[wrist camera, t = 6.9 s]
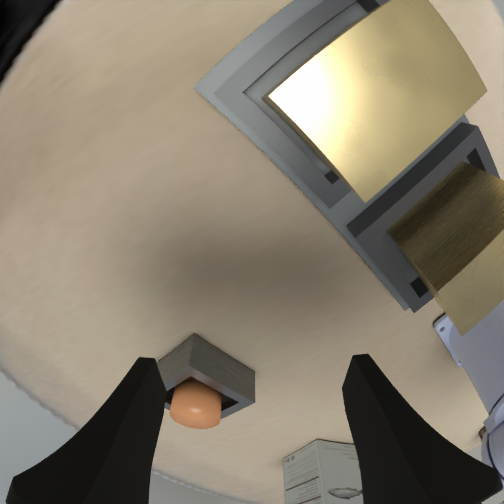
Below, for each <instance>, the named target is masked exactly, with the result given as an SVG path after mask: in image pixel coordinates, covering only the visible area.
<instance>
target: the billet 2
mask: <svg viewBox="0 0 504 504" xmlns="http://www.w3.org/2000/svg"><path fill="white" fill-rule="evenodd" d="M386 231H387V233H388V234H389V236H390V237H391V238H392V240H393V241H394V242H395V244H396V245H397V247H398V248H399V250H400V251H401V252H402V254H403V255H404V257H405V258H406V260H407V261H408V263H409V264H410V266H411V267H412V269H413V270H414V271H415V273H416V274H417V275H418V277H419V278H420V279H421V280H422V282H423V283H424V284H425V286H426V287H427V288H428V290H429V291H430V292H431V294H432V295H433V296H434V298H435V299H436V301H437V302H438V303H439V305H440V306H441V308H442V309H443V310H444V312H445V313H446V315H447V316H448V317H449V319H450V320H451V322H452V323H453V325H454V326H455V328H456V329H457V331H458V332H459V334H460V335H461V337H462V336H464V335H465V334H466V333H467V332H468V331H470V330H471V329H472V328H473V327H474V326H475V325H477V324H478V323H479V322H480V321H481V320H482V319H483V318H485V317H486V316H487V315H488V314H489V313H490V312H491V311H492V310H493V309H494V308H495V307H497V306H498V305H499V304H500V303H501V302H502V301H503V300H504V181H503V180H501V179H499V178H498V177H496V176H494V175H492V174H489V173H487V172H485V171H483V170H481V169H479V168H477V167H475V166H472V165H470V164H468V163H466V162H464V161H461V162H460V163H459V164H458V165H457V166H456V167H455V168H454V169H453V170H452V171H451V172H450V173H449V174H448V175H447V176H446V177H445V178H444V179H443V180H442V181H440V182H439V183H438V184H437V185H436V186H435V187H434V188H433V189H432V190H431V191H430V192H429V193H428V194H426V195H425V196H424V197H423V198H422V199H421V200H420V201H419V202H418V203H417V204H415V205H414V206H413V207H412V208H411V209H410V210H409V211H408V212H406V213H405V214H404V215H403V216H402V217H401V218H400V219H399V220H397V221H396V222H395V223H394V224H393V225H392V226H390V227H389V228H388V229H387V230H386Z"/></svg>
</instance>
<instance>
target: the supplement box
mask: <svg viewBox="0 0 504 504" xmlns="http://www.w3.org/2000/svg"><path fill="white" fill-rule="evenodd" d="M283 476H284V496H285V504H363V492H362V482H361V473H360V466H359V461H358V456H357V453H356V449H355V445H350V444H341V443H334V442H328V441H322V440H318V439H317V440H315V441H313V442H311V443H310V444H308V445H306V446H305V447H303V448H301V449H299V450H298V451H296V452H294V453H292V454H291V455H289V456H287V457H285V458H284V459H283Z"/></svg>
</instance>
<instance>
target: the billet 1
mask: <svg viewBox="0 0 504 504" xmlns="http://www.w3.org/2000/svg"><path fill="white" fill-rule="evenodd" d="M486 92H487V89H486V87H485V85H484V83H483V81H482V79H481V78H480V76H479V74H478V72H477V70H476V69H475V67H474V65H473V63H472V62H471V60H470V58H469V57H468V55H467V54H466V52H465V50H464V49H463V47H462V46H461V44H460V43H459V41H458V40H457V38H456V37H455V35H454V34H453V32H452V31H451V29H450V28H449V27H448V25H447V24H446V22H445V21H444V20H443V18H442V17H441V16H440V14H439V13H438V12H437V10H436V9H435V8H434V7H433V5H432V4H431V3H430V2H429V0H388V1H387V2H385V3H383V4H382V5H380V6H378V7H377V8H375V9H374V10H372V11H370V12H369V13H367V14H366V15H364V16H362V17H361V18H359V19H358V20H356V21H355V22H353V23H352V24H350V25H349V26H348V27H346V28H345V29H344V30H342V31H341V32H340V33H338V34H337V35H336V36H334V37H333V38H332V39H330V40H329V41H328V42H327V43H325V44H324V45H323V46H321V47H320V48H319V49H318V50H316V51H315V52H314V53H313V54H311V55H310V56H309V57H308V58H307V59H305V60H304V61H303V62H302V63H300V64H299V65H298V66H297V67H296V68H295V69H293V70H292V71H291V72H290V73H289V74H288V75H286V76H285V77H284V78H283V79H282V80H281V81H279V82H278V83H277V84H276V85H275V86H274V87H273V88H272V89H270V90H269V91H268V92H267V93H266V94H265V95H264V96H263V97H262V98H261V99H262V100H263V101H264V102H265V103H266V104H267V105H268V106H269V107H270V108H271V109H272V110H273V111H274V112H275V113H276V114H277V115H278V116H279V117H280V118H281V119H282V120H283V121H284V122H285V123H286V124H287V125H288V126H289V127H290V128H291V129H292V130H293V131H294V132H295V133H296V134H297V135H298V136H299V137H300V139H301V140H302V141H303V142H304V143H305V144H306V145H307V146H308V147H309V148H310V149H311V150H312V151H313V153H314V154H315V155H316V156H317V157H318V158H319V159H320V160H321V161H322V162H323V163H324V164H325V165H326V166H327V167H328V168H329V169H330V170H332V171H333V172H334V173H335V174H336V175H337V176H338V177H339V178H340V179H341V180H342V181H343V182H344V183H345V184H346V185H347V186H348V187H349V188H350V189H351V190H352V191H353V192H354V193H355V194H356V195H357V196H358V197H359V198H360V199H361V200H362V201H363V202H364V203H366V202H367V201H369V200H370V199H371V198H372V197H373V196H374V195H375V194H377V193H378V192H379V191H380V190H381V189H382V188H383V187H385V186H386V185H387V184H388V183H389V182H390V181H391V180H393V179H394V178H395V177H396V176H397V175H398V174H399V173H400V172H401V171H403V170H404V169H405V168H406V167H407V166H408V165H409V164H410V163H412V162H413V161H414V160H415V159H416V158H417V157H418V156H419V155H420V154H421V153H423V152H424V151H425V150H426V149H427V148H428V147H429V146H430V145H431V144H432V143H433V142H435V141H436V140H437V139H438V138H439V137H440V136H441V135H442V134H443V133H444V132H445V131H446V130H447V129H448V128H450V127H451V126H452V125H453V124H454V123H455V122H456V121H457V120H458V119H459V118H460V117H461V116H462V115H463V114H464V113H465V112H466V111H467V110H468V109H470V108H471V107H472V106H473V105H474V104H475V103H476V102H477V101H478V100H479V99H480V98H481V97H482V96H483V95H484V94H485V93H486Z"/></svg>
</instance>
